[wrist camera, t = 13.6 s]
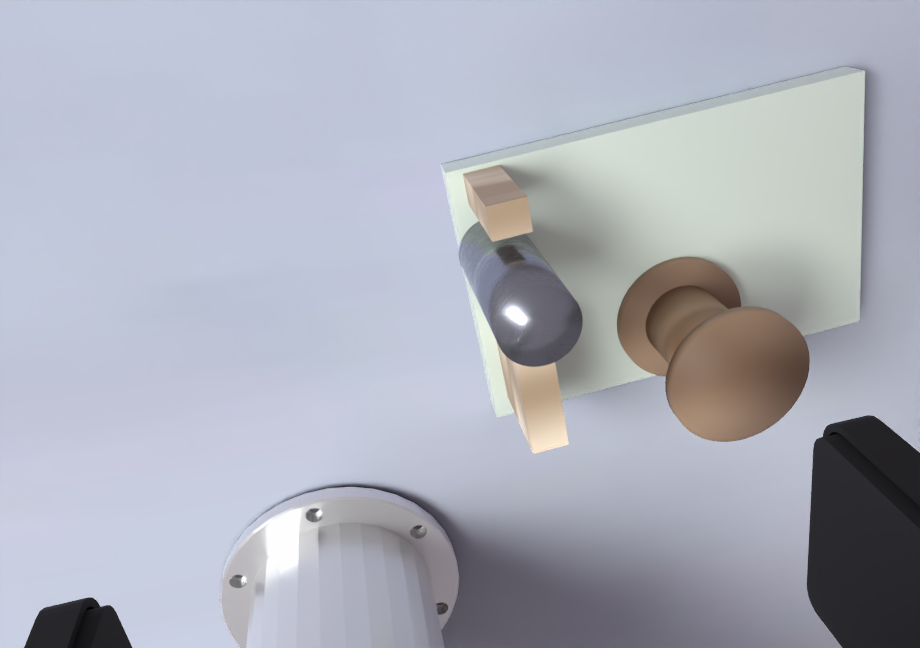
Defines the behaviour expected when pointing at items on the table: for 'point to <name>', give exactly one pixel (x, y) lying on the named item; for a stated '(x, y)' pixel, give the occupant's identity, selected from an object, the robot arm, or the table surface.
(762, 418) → the bobbin
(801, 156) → the base board
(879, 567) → the robot arm
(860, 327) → the table surface
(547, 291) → the peg
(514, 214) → the notched rail
